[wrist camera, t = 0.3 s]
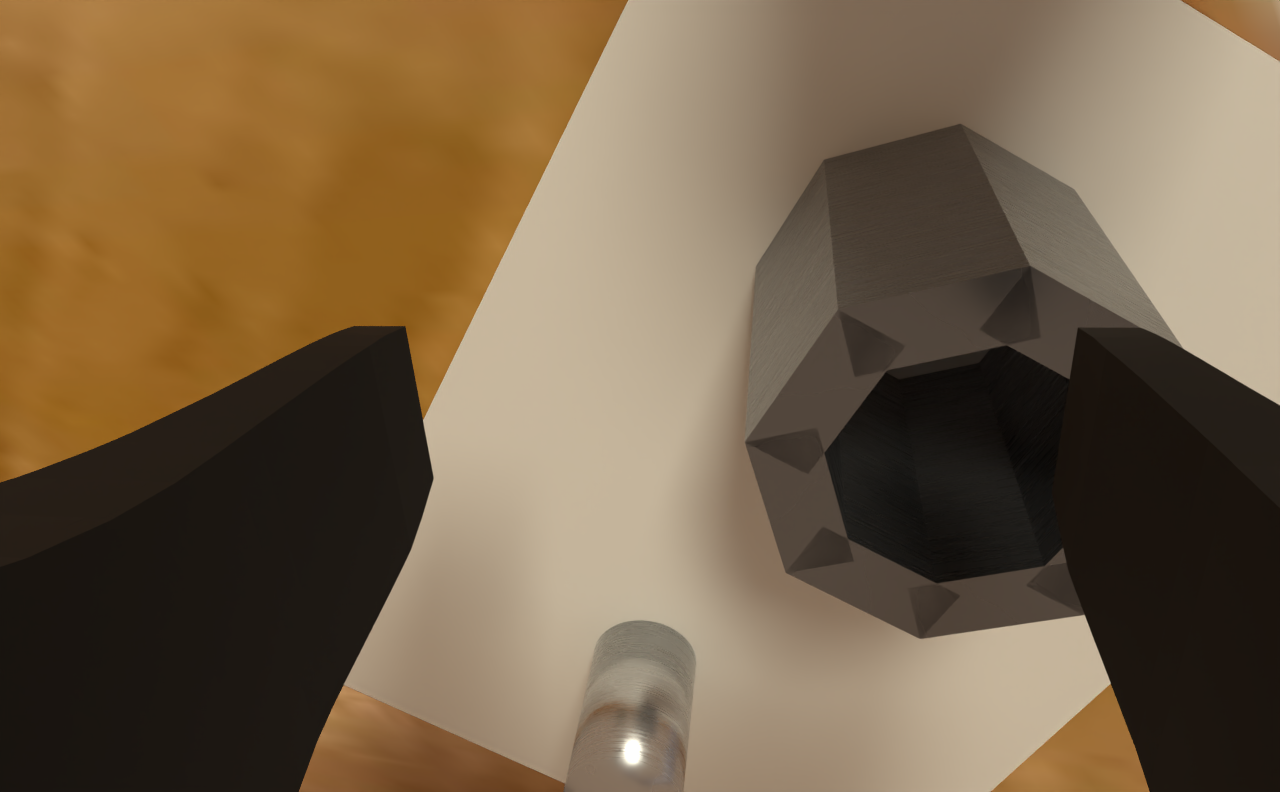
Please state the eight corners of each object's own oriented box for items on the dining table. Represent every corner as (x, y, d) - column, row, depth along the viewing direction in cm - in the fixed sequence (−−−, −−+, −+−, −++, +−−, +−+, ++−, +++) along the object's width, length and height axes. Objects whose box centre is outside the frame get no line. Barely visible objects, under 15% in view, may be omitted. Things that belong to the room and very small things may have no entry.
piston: (715, 648, 25) (703, 791, 21) (666, 711, 26) (647, 855, 22) (622, 604, 24) (595, 742, 21) (577, 669, 25) (544, 809, 22)
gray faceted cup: (1152, 234, 19) (1293, 413, 13) (957, 463, 21) (1011, 684, 16) (877, 75, 18) (914, 200, 13) (712, 334, 20) (687, 524, 15)
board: (1545, 226, 19) (1589, 253, 18) (852, 873, 30) (854, 912, 29) (758, -261, 17) (755, -262, 16) (320, 633, 27) (302, 666, 26)
